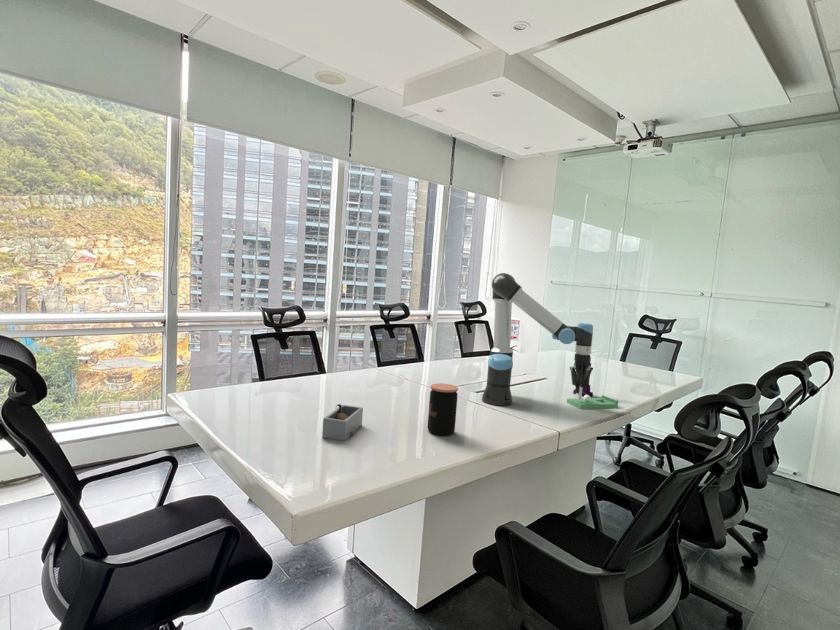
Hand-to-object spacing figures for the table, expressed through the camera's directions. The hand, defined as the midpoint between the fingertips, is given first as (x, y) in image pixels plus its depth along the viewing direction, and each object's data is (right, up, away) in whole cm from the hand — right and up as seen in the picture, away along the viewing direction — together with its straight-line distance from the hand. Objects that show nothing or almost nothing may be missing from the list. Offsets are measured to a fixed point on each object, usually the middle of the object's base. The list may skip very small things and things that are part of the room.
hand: (578, 399), depth 230 cm
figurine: (-111, 0, -61) cm, 127 cm away
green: (+8, -4, +3) cm, 10 cm away
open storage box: (-110, 0, -62) cm, 126 cm away
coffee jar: (-73, -3, -55) cm, 91 cm away
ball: (+5, -2, +2) cm, 6 cm away
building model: (+11, -2, +24) cm, 27 cm away
